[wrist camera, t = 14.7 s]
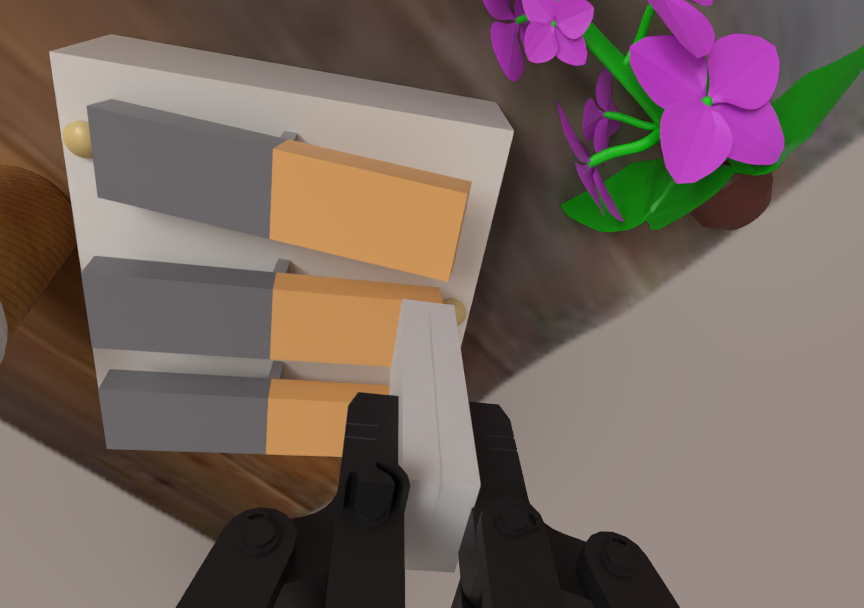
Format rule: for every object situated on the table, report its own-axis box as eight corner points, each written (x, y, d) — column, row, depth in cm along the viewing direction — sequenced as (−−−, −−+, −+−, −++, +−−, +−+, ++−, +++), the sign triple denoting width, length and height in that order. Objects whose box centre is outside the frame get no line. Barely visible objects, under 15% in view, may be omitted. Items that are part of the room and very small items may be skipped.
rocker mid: (104, 328, 28) (91, 347, 27) (94, 255, 26) (80, 272, 25) (425, 351, 32) (429, 369, 30) (439, 287, 30) (443, 304, 28)
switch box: (141, 353, 39) (90, 431, 33) (111, 34, 29) (29, 57, 23) (432, 386, 42) (437, 464, 36) (496, 102, 32) (519, 140, 25)
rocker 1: (120, 186, 27) (97, 197, 26) (111, 98, 25) (86, 105, 24) (453, 266, 26) (448, 282, 25) (472, 181, 24) (467, 193, 23)
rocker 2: (117, 427, 32) (106, 448, 30) (109, 369, 30) (98, 389, 28) (407, 439, 35) (409, 459, 33) (418, 387, 33) (421, 406, 31)
